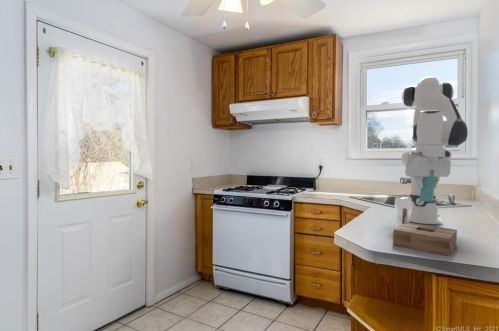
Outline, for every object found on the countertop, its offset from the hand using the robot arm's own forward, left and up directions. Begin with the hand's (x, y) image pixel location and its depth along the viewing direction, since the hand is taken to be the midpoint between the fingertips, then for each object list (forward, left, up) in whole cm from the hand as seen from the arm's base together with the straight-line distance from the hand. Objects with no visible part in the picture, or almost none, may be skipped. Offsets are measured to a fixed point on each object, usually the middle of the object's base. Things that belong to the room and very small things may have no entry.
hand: (427, 188), depth 116 cm
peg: (0, 0, -5) cm, 5 cm away
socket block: (0, 0, -22) cm, 22 cm away
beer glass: (-20, -13, -22) cm, 32 cm away
